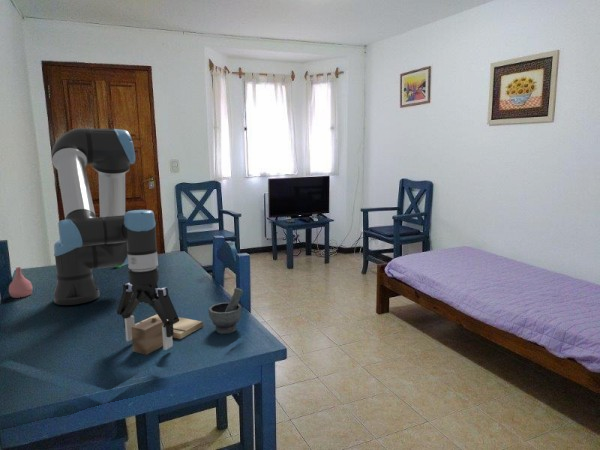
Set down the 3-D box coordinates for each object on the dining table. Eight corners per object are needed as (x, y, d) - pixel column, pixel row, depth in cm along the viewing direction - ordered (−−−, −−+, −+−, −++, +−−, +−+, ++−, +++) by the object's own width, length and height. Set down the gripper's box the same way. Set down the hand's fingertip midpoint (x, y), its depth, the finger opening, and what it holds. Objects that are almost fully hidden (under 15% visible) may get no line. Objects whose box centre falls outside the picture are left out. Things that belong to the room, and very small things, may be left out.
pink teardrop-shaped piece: (18, 302, 157) (14, 271, 155) (5, 300, 160) (1, 269, 158) (38, 296, 164) (34, 266, 162) (24, 294, 167) (21, 264, 165)
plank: (134, 329, 129) (134, 323, 129) (158, 318, 138) (158, 313, 137) (180, 338, 121) (180, 333, 121) (202, 326, 130) (202, 320, 130)
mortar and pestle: (219, 338, 121) (217, 298, 119) (204, 329, 128) (201, 291, 126) (252, 328, 128) (250, 290, 126) (235, 319, 135) (234, 283, 133)
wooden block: (133, 351, 114) (131, 324, 112) (152, 341, 120) (150, 315, 119) (147, 355, 112) (144, 327, 110) (165, 344, 118) (164, 317, 117)
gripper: (98, 267, 114) (105, 341, 118) (169, 276, 104) (174, 357, 107) (121, 261, 121) (127, 331, 124) (189, 269, 110) (194, 345, 114)
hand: (149, 343), depth 116 cm, fingers open, 13 cm apart
